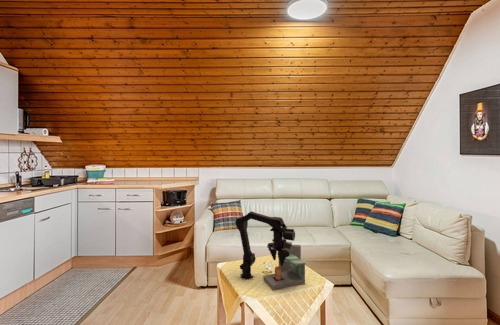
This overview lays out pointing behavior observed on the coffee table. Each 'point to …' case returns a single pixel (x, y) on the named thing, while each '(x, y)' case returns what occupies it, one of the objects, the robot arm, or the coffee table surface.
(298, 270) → the awning
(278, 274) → the peg
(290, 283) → the socket deck
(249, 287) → the coffee table surface
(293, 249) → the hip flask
